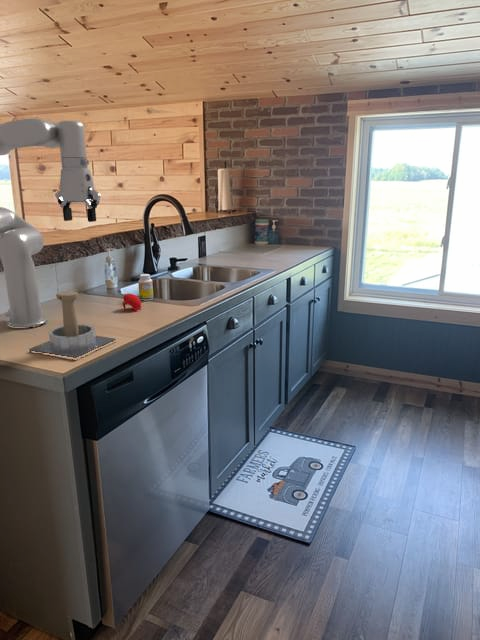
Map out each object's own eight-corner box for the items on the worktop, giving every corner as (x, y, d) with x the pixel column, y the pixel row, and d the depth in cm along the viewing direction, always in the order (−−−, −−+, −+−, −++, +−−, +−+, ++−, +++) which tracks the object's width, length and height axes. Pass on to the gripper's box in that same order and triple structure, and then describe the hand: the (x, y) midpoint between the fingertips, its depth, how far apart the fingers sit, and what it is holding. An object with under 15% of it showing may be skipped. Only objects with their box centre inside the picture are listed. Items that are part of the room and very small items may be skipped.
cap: (116, 301, 177) (122, 295, 173) (127, 293, 181) (133, 287, 177) (130, 318, 178) (136, 312, 174) (140, 309, 182) (147, 304, 178)
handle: (73, 347, 135) (67, 296, 131) (58, 344, 138) (52, 293, 134) (87, 342, 139) (81, 292, 135) (72, 339, 142) (66, 290, 138)
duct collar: (29, 352, 135) (26, 335, 133) (71, 334, 150) (70, 319, 148) (76, 360, 128) (74, 343, 127) (115, 341, 143) (114, 325, 142)
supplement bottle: (140, 298, 195) (138, 273, 192) (153, 297, 196) (152, 273, 193) (139, 301, 190) (137, 276, 187) (153, 301, 191) (151, 275, 188)
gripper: (105, 164, 146) (109, 220, 151) (61, 165, 153) (67, 219, 157) (88, 163, 139) (93, 222, 144) (43, 164, 146) (50, 221, 151)
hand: (80, 221), depth 151 cm, fingers open, 9 cm apart
